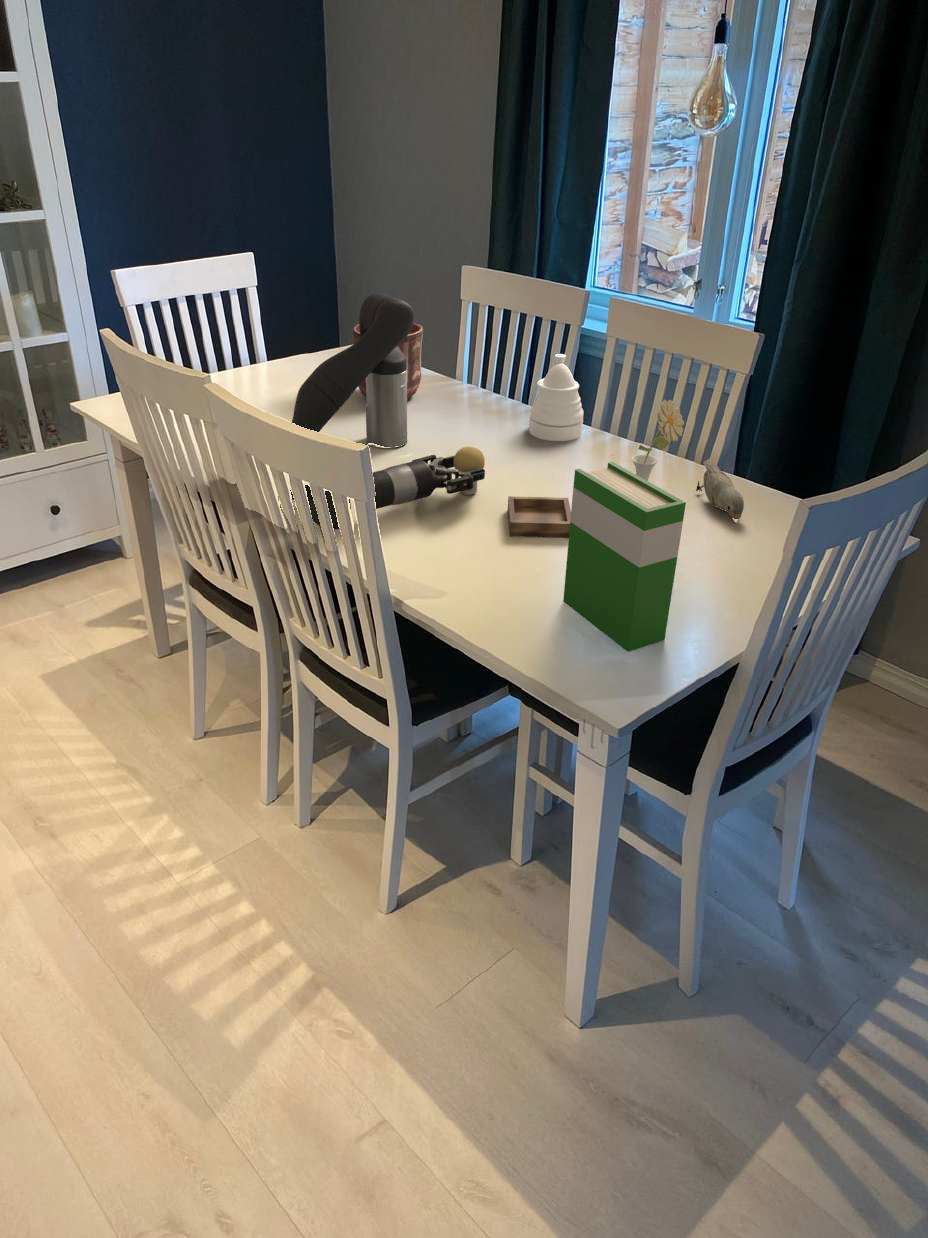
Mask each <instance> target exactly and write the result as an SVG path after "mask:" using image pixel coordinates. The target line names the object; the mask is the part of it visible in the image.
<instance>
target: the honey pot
mask: <svg viewBox="0 0 928 1238" xmlns="http://www.w3.org/2000/svg"><path fill="white" fill-rule="evenodd" d="M566 358H567V355H566V354H563V353H556V354H555V355H554V359H555V361H556V364H554V365H553V366H552V367H551V368H550V369H549V371H548V372H547V374H545V375H546V376H545V377H544V378H541V379H539V380H538V381H537V383H536V386H537V389H538V392H537V393H536V394H535V399H534V401H533V404H532V406H531V408H530V411H529V413H530V414H529V420H528V421H529V423H528V432H529V434H530V435H532V436H534V437H535V438H537V439H541V440H545V441H550V442H551V441H552V442H567V441H573V440H576V439H578V438H580V437H581V436H582V434H583V425H584V424H583V423H584V412H585V411H584V409H583V408H582V406H583V404H582V402H581V399H582V398H581V397H580V395H579V392H578V391H579V388H580V384H579V383H578V381H576V380H575V379H574V375H573V374H572V372H571V370H570V369H569V367H568V366H567V365H566V364H564V362H565V361H566Z"/></svg>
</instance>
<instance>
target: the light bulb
mask: <svg viewBox="0 0 928 1238" xmlns="http://www.w3.org/2000/svg"><path fill="white" fill-rule="evenodd" d="M453 456H454V467H453V468H454V469H458V470H459V471H460V472H468V471H472V470H476V469H480V468H482V469H484V468H485V465H486V464H485V456H484V454H483V452H482V450H480V449H478V448H477V447H476V446H475V447H474V446H464V447H462V448H460V449H459V450H457V451H456V453H455V455H453ZM461 477H465V476H459V478H461ZM478 482H479V481H475V482H473V489H470V490H465V491H461V492H460V493H461V494H462V495H464V496H472V495H475V494H476V493H478ZM464 486H466V485H464Z"/></svg>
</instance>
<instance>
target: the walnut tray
mask: <svg viewBox="0 0 928 1238" xmlns="http://www.w3.org/2000/svg"><path fill="white" fill-rule="evenodd" d="M570 505H571V504H570V499H569V497H550V496H549V497H547V496H508V498H507V517H508V518H507V521H508V531H509V532H508V533H509V535H508V536H509V537H512V538H513V537H518V538H519V537H521V538H551V539H552V538H555V539H556V538H557V539H560V538H561V539H569V531H570V519H571V506H570Z"/></svg>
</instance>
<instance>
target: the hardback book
mask: <svg viewBox="0 0 928 1238" xmlns="http://www.w3.org/2000/svg"><path fill="white" fill-rule="evenodd" d="M571 497H572V499H571V507H570V509H571V519H570V531H569V538H568V543H567V544H568V545H567V555H566V567H565V575H564V577H565V578H564V589H563V599H562V600H563V601H562V602H563V603H564V604H566V605H567V606H568V607H570V608H571V609H572V610H573V611H575V612H576V613H577V614H578V615H580V616H581V617H582V618H584V619H585V620H586V621H587V622H588V623H590V624H591V625H592V626H593V627H596V629H597V630H599V631H600V632H601V633H603V634H604V635H606V636H607V638H609V639H610V640H612V641H613V642H614V643H616V644H617V646H620V647H621V648H622V649H623V650H625V651H626V652H627V653H629V652H632V651H635V650H638V649H641V648H644V647H646V646H647V647H648V646H650V645H654V644H657V643H660V642H663V641H665V639H666V632H667V626H668V620H669V614H670V607H671V601H672V595H673V590H674V589H673V588H674V582H675V575H676V569H677V562H678V556H679V551H680V549H679V548H680V542H681V538H682V537H681V536H682V531H683V525H684V524H683V523H684V517H685V511H686V506H687V505H686V504H687V502H686V501H684V500H683V499H680V498H678V497H677V496H675V495H673V494H671V493H670V492H668V491H666V490H665V489H663V488H660V487H659V486H657V485H655V484H653V483H652V482H650V481H649V480H648V481H646V480H645V479H643V478H641V477H639V476H637V475H636V473H634V472H632V471H630V470H629V469H627V468H625V467H623V466H621V465H619V464H618V463H616V462H614V461H609V462H608V463H607V468H604V469H598V470H594V471H590V472H586V471H585V470H583V469H581V468H577V469H574V475H573V486H572V496H571Z"/></svg>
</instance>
